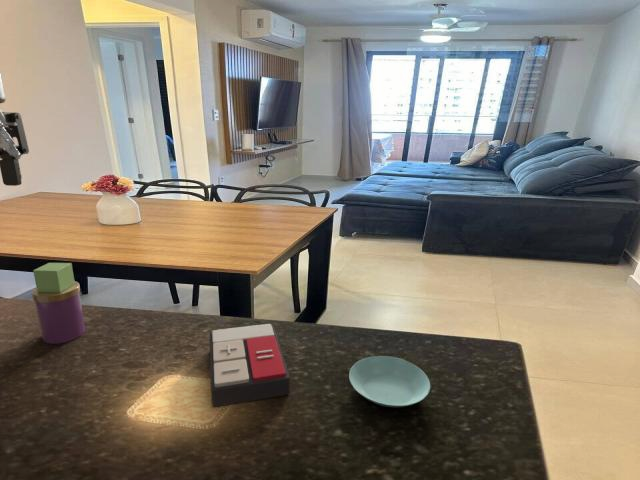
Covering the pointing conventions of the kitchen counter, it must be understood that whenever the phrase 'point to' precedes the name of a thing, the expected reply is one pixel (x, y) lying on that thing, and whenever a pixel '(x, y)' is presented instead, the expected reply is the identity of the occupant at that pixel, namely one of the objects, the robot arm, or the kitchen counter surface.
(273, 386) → the calculator
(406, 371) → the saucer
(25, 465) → the kitchen counter surface
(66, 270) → the cube
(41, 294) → the jar
